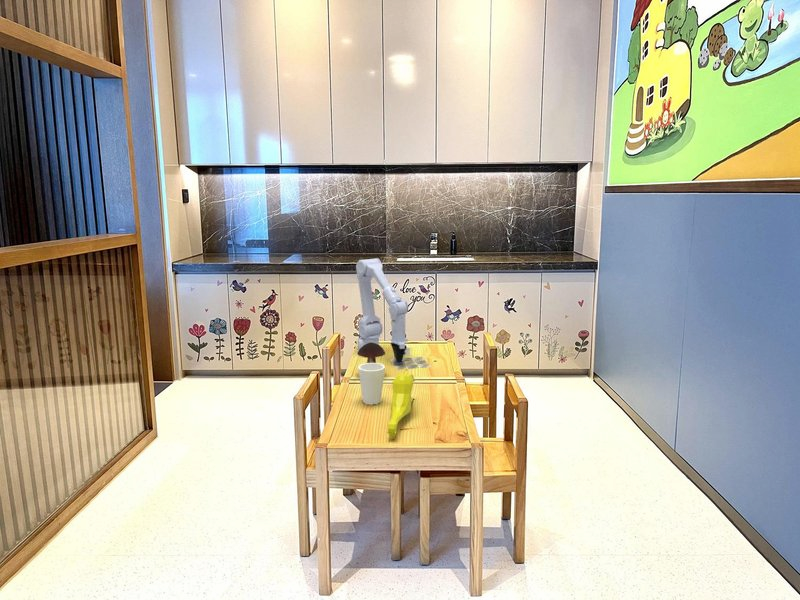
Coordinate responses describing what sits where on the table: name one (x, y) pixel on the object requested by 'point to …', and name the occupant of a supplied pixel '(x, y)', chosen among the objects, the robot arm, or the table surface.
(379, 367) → the foam cup
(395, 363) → the pawn
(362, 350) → the decorative mushroom
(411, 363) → the board
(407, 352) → the die
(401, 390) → the banana
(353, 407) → the table surface
